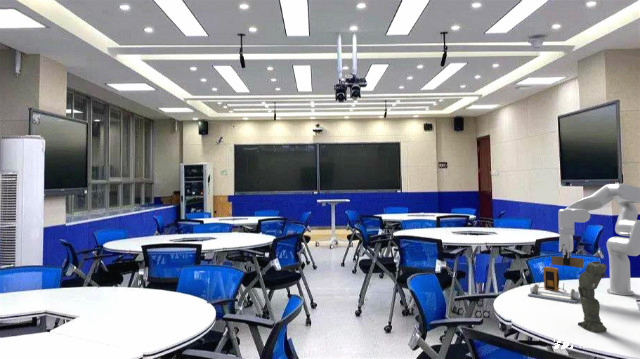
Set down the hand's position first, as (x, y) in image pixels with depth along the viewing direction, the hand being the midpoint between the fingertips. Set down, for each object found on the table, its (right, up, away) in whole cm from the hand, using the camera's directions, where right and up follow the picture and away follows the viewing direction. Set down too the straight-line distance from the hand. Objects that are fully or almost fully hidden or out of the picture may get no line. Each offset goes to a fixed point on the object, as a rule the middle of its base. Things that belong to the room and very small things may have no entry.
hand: (567, 264), depth 232 cm
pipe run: (-8, -18, -1) cm, 19 cm away
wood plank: (0, -1, 0) cm, 1 cm away
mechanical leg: (-20, -16, -54) cm, 60 cm away
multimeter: (+3, -18, +18) cm, 26 cm away
